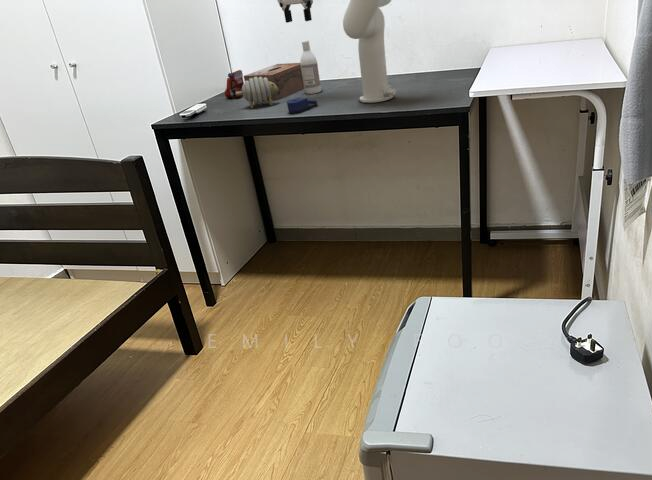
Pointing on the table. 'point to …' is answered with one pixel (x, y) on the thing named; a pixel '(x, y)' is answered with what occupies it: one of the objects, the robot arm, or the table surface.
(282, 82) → the tissue box cover
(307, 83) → the bath foam
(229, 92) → the toy fire truck
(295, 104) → the navy rounded-end tab
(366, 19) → the robot arm
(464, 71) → the table surface
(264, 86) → the toy sheep
